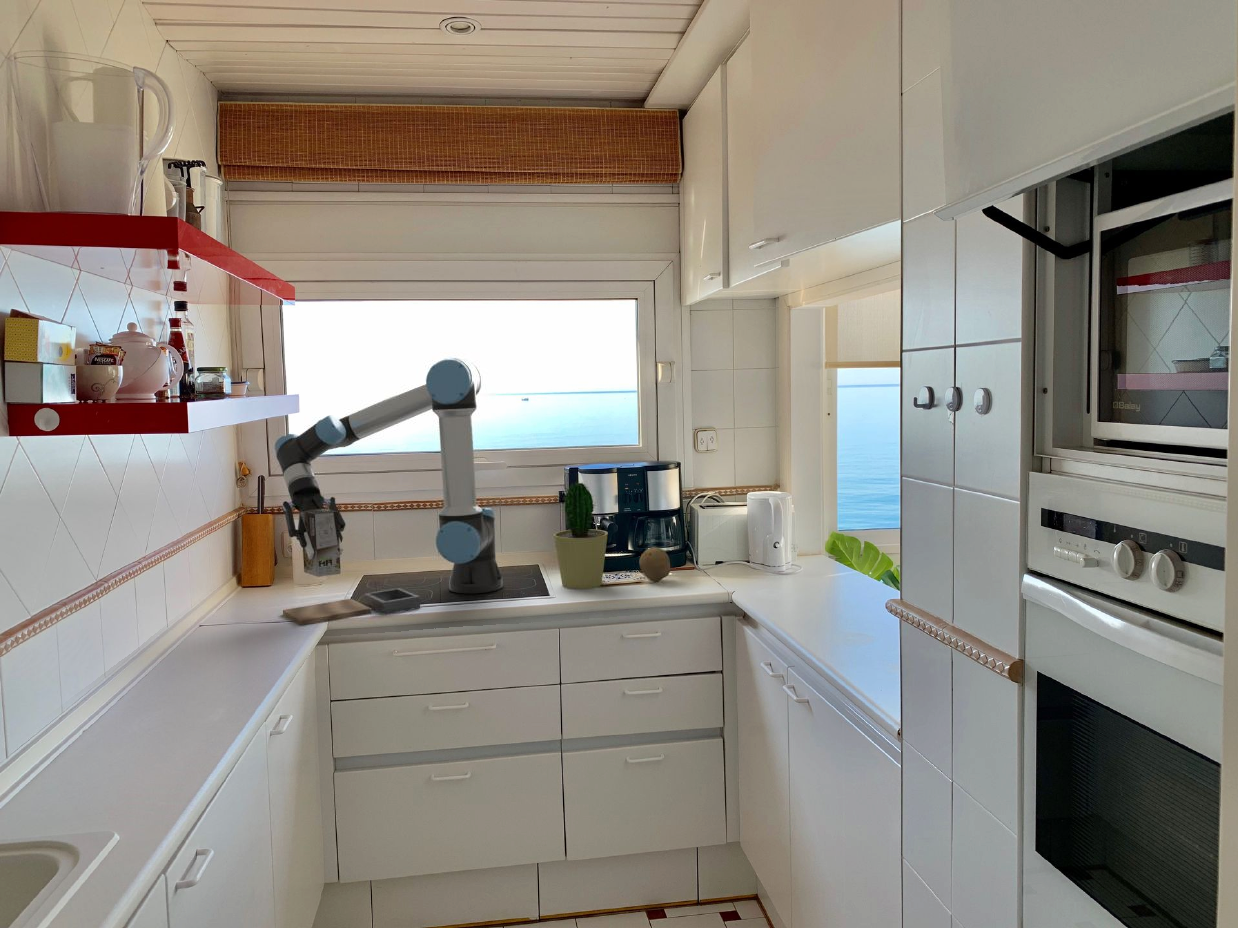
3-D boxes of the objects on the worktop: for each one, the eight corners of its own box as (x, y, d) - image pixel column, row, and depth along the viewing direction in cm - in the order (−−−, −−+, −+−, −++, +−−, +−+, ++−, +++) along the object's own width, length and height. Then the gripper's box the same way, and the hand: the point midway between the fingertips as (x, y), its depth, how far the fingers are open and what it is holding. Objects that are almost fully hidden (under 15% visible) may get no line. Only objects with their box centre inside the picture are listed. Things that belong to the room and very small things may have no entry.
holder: (399, 598, 252) (399, 587, 252) (420, 607, 242) (419, 596, 241) (364, 604, 246) (363, 593, 246) (383, 614, 236) (383, 602, 235)
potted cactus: (616, 587, 260) (614, 481, 257) (563, 592, 255) (560, 484, 252) (599, 576, 274) (596, 476, 271) (549, 581, 269) (546, 479, 266)
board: (351, 602, 248) (350, 598, 248) (371, 612, 237) (370, 608, 237) (282, 614, 238) (282, 609, 238) (300, 625, 227) (300, 620, 226)
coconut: (641, 577, 271) (640, 544, 270) (671, 577, 270) (670, 544, 269) (638, 584, 262) (637, 550, 261) (670, 584, 261) (669, 550, 260)
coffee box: (341, 573, 235) (339, 511, 234) (317, 577, 231) (314, 513, 230) (326, 568, 242) (324, 507, 241) (302, 572, 238) (299, 510, 236)
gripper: (335, 490, 253) (360, 557, 241) (261, 497, 241) (283, 568, 230) (341, 472, 248) (367, 540, 237) (266, 478, 236) (289, 550, 225)
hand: (326, 553), depth 233 cm, fingers closed on coffee box, 7 cm apart
